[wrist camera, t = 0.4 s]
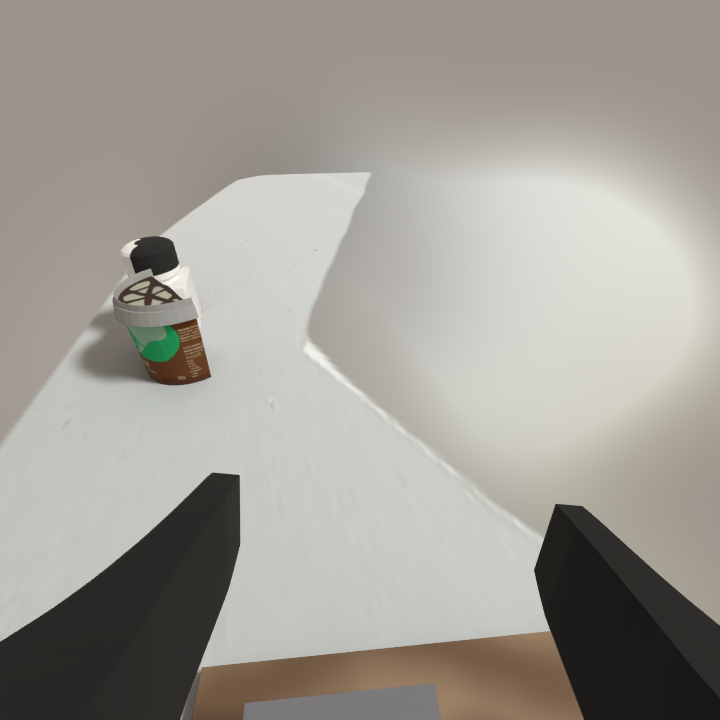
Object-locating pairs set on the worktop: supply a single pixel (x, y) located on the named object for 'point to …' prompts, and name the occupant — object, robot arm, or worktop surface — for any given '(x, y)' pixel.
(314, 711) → the socket
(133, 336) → the food container
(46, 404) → the worktop surface
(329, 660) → the dock board
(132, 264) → the medicine bottle
